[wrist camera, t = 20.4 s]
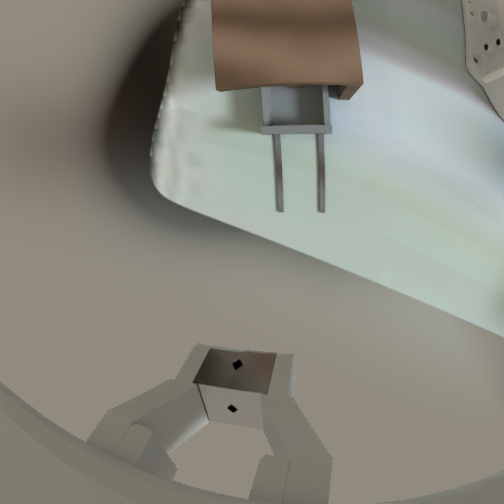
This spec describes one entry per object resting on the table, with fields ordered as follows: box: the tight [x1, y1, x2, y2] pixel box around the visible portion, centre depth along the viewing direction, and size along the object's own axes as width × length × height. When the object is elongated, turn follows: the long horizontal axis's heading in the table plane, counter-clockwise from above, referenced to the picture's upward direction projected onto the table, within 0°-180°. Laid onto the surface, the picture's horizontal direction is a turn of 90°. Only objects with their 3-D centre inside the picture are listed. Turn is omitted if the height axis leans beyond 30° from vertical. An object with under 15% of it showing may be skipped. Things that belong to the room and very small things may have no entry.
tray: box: [261, 85, 332, 135], centre depth 25 cm, size 12×7×4 cm, turn 4°
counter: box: [211, 0, 363, 213], centre depth 24 cm, size 26×12×10 cm, turn 4°
